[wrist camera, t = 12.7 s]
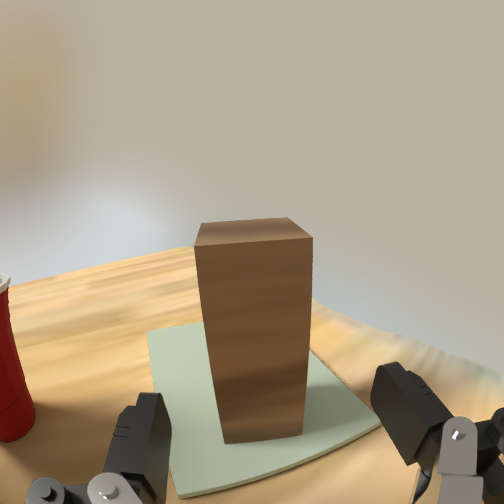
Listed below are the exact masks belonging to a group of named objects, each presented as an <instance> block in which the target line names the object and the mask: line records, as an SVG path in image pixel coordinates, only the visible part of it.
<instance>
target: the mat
mask: <svg viewBox="0 0 504 504" xmlns="http://www.w3.org/2000/svg"><path fill="white" fill-rule="evenodd" d="M147 337H148V346H149V355H150V363H151V370H152V378H153V384H154V391H155V393H161V394H162V396H163V399H164V403H165V406H166V409H167V411H168V414H169V417H170V420H171V426H172V438H171V447H170V457H169V466H170V470H171V474H172V478H173V482H174V486H175V489H176V493H177V496H178V497H179V499H182V498H188V497H193V496H198V495H203V494H208V493H212V492H216V491H220V490H224V489H228V488H232V487H236V486H239V485H243V484H246V483H250V482H253V481H256V480H259V479H262V478H265V477H268V476H271V475H274V474H277V473H280V472H283V471H285V470H288V469H291V468H293V467H296V466H298V465H301V464H303V463H306V462H308V461H310V460H313V459H315V458H317V457H320V456H322V455H324V454H326V453H329V452H331V451H333V450H335V449H337V448H339V447H341V446H343V445H345V444H347V443H349V442H351V441H353V440H355V439H357V438H359V437H361V436H362V435H364V434H366V433H368V432H370V431H372V430H373V429H375V428H377V427H379V426H380V425H381V421H380V419H379V418H378V416H377V415H376V414H375V413H374V412H373V411H372V410H371V409H370V408H369V407H368V406H366V405H365V404H364V403H363V402H362V401H361V400H360V399H359V398H358V397H357V396H356V395H355V394H354V393H353V392H352V391H351V390H350V389H349V388H348V387H347V386H346V385H345V384H344V383H343V382H341V381H340V380H339V379H338V378H337V377H336V376H335V375H334V374H333V373H332V372H331V371H330V370H329V369H328V368H327V367H326V366H325V365H324V364H323V363H322V362H321V361H320V360H319V359H318V358H317V357H316V356H315V355H314V354H313V353H312V352H311V351H310V350H309V361H308V375H307V388H306V400H305V411H304V421H303V430H302V435H300V436H294V437H288V438H281V439H274V440H266V441H258V442H248V443H236V444H224V439H223V434H222V429H221V424H220V419H219V414H218V409H217V403H216V398H215V392H214V387H213V381H212V375H211V369H210V363H209V356H208V350H207V343H206V337H205V330H204V323H203V321H201V322H196V323H191V324H186V325H180V326H175V327H169V328H163V329H158V330H152V331H147Z"/></svg>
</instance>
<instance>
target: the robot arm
mask: <svg viewBox="0 0 504 504" xmlns="http://www.w3.org/2000/svg"><path fill="white" fill-rule="evenodd" d="M370 399H371V405H372V407H373V409H374V411H375V413H376V414H377V416H378V418H379V419H380V421H381V423H382V424H383V426H384V428H385V429H386V431H387V433H388V434H389V436H390V438H391V439H392V441H393V443H394V445H395V446H396V448H397V450H398V451H399V453H400V455H401V456H402V458H403V460H404V462H405V463H406V465H407V466H409V465H411V464H413V463H416V462H418V464H419V465H420V466H419V468H418V470H417V474H416V479H415V483H414V486H413V490H412V494H411V497H410V501H409V504H481V502H482V499H483V501H484V503H485V504H504V465H503V463H502V462H501V460H500V459H499V455H500V454H501V453H502V454H503V455H504V408H500V409H498V410H496V412H495V413H494V415H493V416H492V418H491V419H490V420H486V421H481V422H477V423H473V422H472V421H471V420H470V419H468V418H465V417H454V416H453V415H452V414H451V413H450V411H449V410H448V409H447V408H446V407H445V405H444V404H443V403H442V402H441V401H440V399H439V398H438V397H437V396H436V395H435V393H433V391H432V390H431V389H430V388H429V386H428V387H427V384H426V383H425V382H424V381H423V379H422V378H421V377H420V376H418V375H417V374H415V373H413V372H411V371H410V370H409V371H405V369H404V368H403V367H402V366H401V365H400V364H399V363H398V362H392V363H388V364H384V365H381V366H378V368H377V370H376V374H375V378H374V383H373V387H372V391H371V396H370ZM113 436H114V437H113V438H112V441H111V445H110V448H109V452H108V455H107V459H106V463H105V466H104V469H103V472H102V473H101V474H99V475H97V476H95V477H94V478H93V479H92V480H91V481H90V482H89V483H87V484H81V485H66V486H63V485H62V484H61V483H60V482H59V481H58V480H56V479H54V478H52V477H41V478H38V479H36V480H35V481H34V482H33V483H32V484H31V486H30V488H29V492H28V495H27V498H26V502H25V504H165V502H166V489H167V478H168V467H169V457H170V447H171V438H172V426H171V420H170V417H169V414H168V411H167V409H166V406H165V403H164V399H163V396H162V394H161V393H140V394H139V396H138V399H137V403H136V406H127V407H126V408H125V409H124V410H123V412H122V413H121V414H120V415H119V418H118V421H117V424H116V428H115V431H114V434H113Z"/></svg>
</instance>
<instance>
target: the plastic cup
mask: <svg viewBox="0 0 504 504" xmlns="http://www.w3.org/2000/svg"><path fill="white" fill-rule="evenodd" d="M9 284H10V276H9V275H7V274H0V441H4V442H8V441H13V440H17V439H18V438H20V437H22V436H23V435H25V434H26V433H27V432H28V431H29V429H30V428H31V427H32V425H33V423H34V420H35V409H34V406H33V401H32V399H31V396H30V393H29V391H28V388H27V385H26V382H25V376H24V373H23V370H22V367H21V363H20V360H19V356H18V353H17V349H16V345H15V341H14V337H13V332H12V328H11V323H10V313H9V307H8V304H9V300H8V288H9V287H8V285H9Z"/></svg>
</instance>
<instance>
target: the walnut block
mask: <svg viewBox="0 0 504 504" xmlns="http://www.w3.org/2000/svg"><path fill="white" fill-rule="evenodd" d="M194 250H195V259H196V268H197V276H198V285H199V293H200V301H201V308H202V316H203V323H204V330H205V337H206V343H207V350H208V356H209V363H210V369H211V375H212V381H213V387H214V392H215V398H216V403H217V409H218V414H219V419H220V424H221V429H222V434H223V439H224V444H236V443H248V442H258V441H266V440H274V439H281V438H288V437H294V436H300V435H302V430H303V421H304V411H305V400H306V388H307V375H308V361H309V345H310V326H311V302H312V262H313V259H312V258H313V237H312V236H310V235H309V234H308V233H306V232H305V231H304V230H303V229H302V228H300V227H299V226H298V225H296V224H295V223H294V222H293V221H291V220H290V219H289V218H269V219H254V220H239V221H226V222H213V223H202V224H201V226H200V229H199V233H198V236H197V239H196V242H195V245H194Z"/></svg>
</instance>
